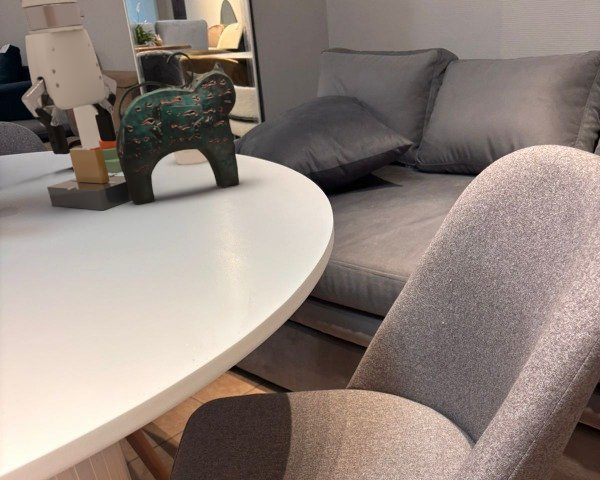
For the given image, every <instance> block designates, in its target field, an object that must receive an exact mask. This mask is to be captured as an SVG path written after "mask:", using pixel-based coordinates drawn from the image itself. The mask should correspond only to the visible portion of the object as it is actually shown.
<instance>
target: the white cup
mask: <svg viewBox="0 0 600 480" xmlns="http://www.w3.org/2000/svg"><path fill="white" fill-rule="evenodd" d="M173 155H174V161H175V163H176V164H177V165H180V166H187V165H197V164H202V163H206V162H208V160H207V159H206V158H205V156H204V155H203V154H202V153H201V152H200V151H198V150H197V149H192V150H182V151H177V152H173Z"/></svg>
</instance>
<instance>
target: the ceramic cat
mask: <svg viewBox="0 0 600 480" xmlns="http://www.w3.org/2000/svg"><path fill="white" fill-rule="evenodd" d="M176 56H184V57H185V58H186V59H187V60H188V61H189V64H190V67H191V70H190V71H187V70H186V72H185V73H186V75H187V76H188V77H189V80H188V81H187V82H186V83H184V84H182V85H171V84H166V83H162V82H158V81H149V80H148V81H145V82H141V83H138V84H135V85H133V86H131V87H129V88H127V90H125V91H124V93H123V94H122V95H121V98H120V100H119V103H118V109H117V110H118V111H117V118H118V119H119V121H118V122H119V123H118V128H117V132H116V150H117V155H118V158H119V162H120V166H121V169H122V172H121V173H122V174H123V176H124V178H125V180H126V183H127V186H128V189H129V192H130V195H131V198H132V200H131V201H132V202H133V203H134V204H136V205H141V204H142V205H143V204H147V203H152V202H153V203H154V202H155V199H156V198H155V193H154V187H153V179H152V178H153V177H152V176H153V172H154V170H155V168H156V166H157V165H158V163H160V161H161V160H162V159H164V158H166V157H167V156H169V155H171V154H174V152H177V151H182V150H192V149H197V150H198V151H200V152H201V153H202V154H203V155H204V156H205V158H206V159H207V160H208V161H207V162H208V164H209V167H210V168H211V171H212V173H213V176H214V180H215V184H216V185H217V187H219V188H222V189H223V188H227V187H230V186H238V185H240V177H239V167H238V160H237V154H236V144H235V140H234V136H233V132H232V127H231V124H230V122H229V115H230V114H231V112H232V111H233V109H234V107H235V105H236V102H237V93H236V89H235V85H234V81H233V80H232V78H231V77H230V76H229V75H227V74H226V73H225V71H224V68H223V66H222V64H221V63H220V62H218V61H216V62H215V64H214V67H213V68H212V70H211V71H208V72H205V73H196V72H194V66H193V62H192V59H191V58H190V56H189V55H188V54H186V53H184V52H182V51H176V52H173V53H171V54H170V55H169V57H168V58H167V60H166V64H167V65H170V62H171V61H172V59H173V58H174V57H176ZM148 85H150V86H151V85H154V86H158V87H159V88H157V89H155V90H152V91H149V92H146V93H142V94H140V95H138V96H135V98H133V99H132V100H131V101H130V102H129V103H128V104H127V105H126V106H125V108H124V110H123V111H121V110H122V105H123V103H124V102H125V101H124V100H125V99H126V97H127V95H129V94H130V93H131V92H133V91H134V90H137V89H139V88H142V87H145V86H148ZM187 86H188V87H187Z"/></svg>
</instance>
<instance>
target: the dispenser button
mask: <svg viewBox="0 0 600 480" xmlns="http://www.w3.org/2000/svg"><path fill="white" fill-rule="evenodd" d="M99 145H100V148H102V149H111V148H116V141H101V140H99Z"/></svg>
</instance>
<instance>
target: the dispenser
mask: <svg viewBox="0 0 600 480" xmlns="http://www.w3.org/2000/svg"><path fill="white" fill-rule="evenodd" d="M102 150H103V155H104V159H105V163H106V167H107V172H108V174H120V173H123V172H122V169H121V166H120V162H119V158H118V155H117V150H116V148H111V149H102Z"/></svg>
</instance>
